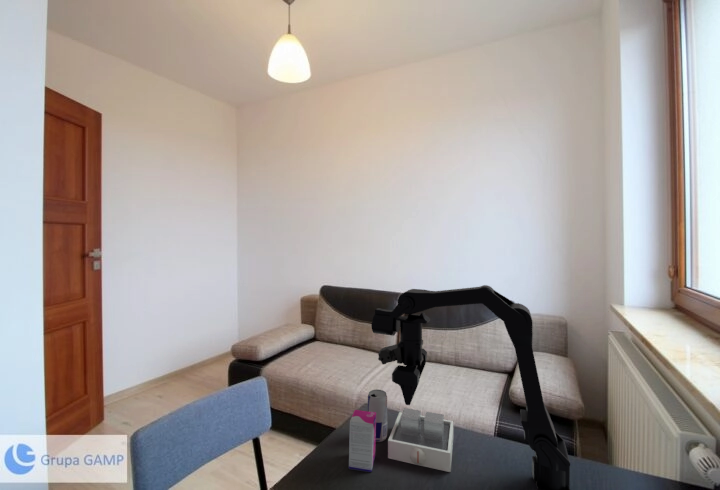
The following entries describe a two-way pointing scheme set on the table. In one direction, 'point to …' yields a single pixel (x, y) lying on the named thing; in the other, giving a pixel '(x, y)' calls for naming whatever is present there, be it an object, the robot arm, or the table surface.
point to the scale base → (421, 450)
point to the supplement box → (362, 440)
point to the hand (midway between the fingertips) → (410, 396)
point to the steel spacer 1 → (411, 422)
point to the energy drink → (379, 412)
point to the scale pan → (423, 441)
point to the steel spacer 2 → (434, 426)
